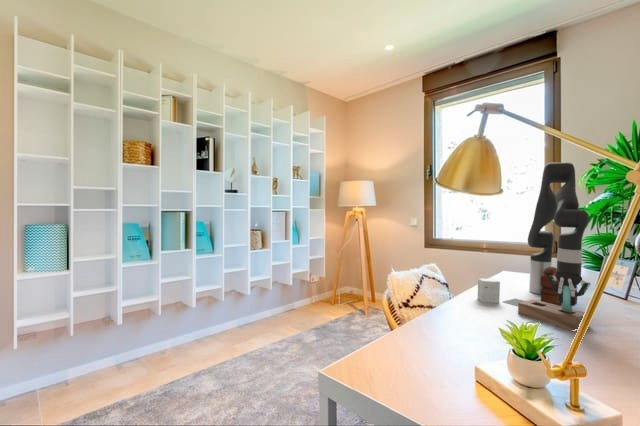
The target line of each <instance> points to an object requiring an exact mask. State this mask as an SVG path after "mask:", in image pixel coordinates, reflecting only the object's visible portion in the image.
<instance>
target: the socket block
mask: <svg viewBox="0 0 640 426" xmlns="http://www.w3.org/2000/svg"><path fill="white" fill-rule="evenodd" d="M523 301H524V302H520V303H518V307H517V315H521V316H525V317H527V318H529V319H530V318H531V319H534V320H537V321H540V322H544V323H547V324H549V325H550V324H551V325H553V326H554V327H556V328H560V329H563V330H567V329H568V330H567V331H570V330H575V329H578V327H579V324H580V322H581V320H582V318H583V315H584V313H585V311H581V310H578V309H574V308H572V312H565V311H562V305H560V306H558V305H554V304H550V303H546V302H543V301H541V300H539V299H534V298H533V299H529V300H523ZM575 332H578V331H577V330H576V331H575Z"/></svg>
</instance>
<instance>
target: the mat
mask: <svg viewBox="0 0 640 426" xmlns="http://www.w3.org/2000/svg"><path fill="white" fill-rule="evenodd" d="M524 301H525V300H523V299H519V298H512V299H506V300H503V301H502V303H504V304H507V305H509V306H510V305H511V306H514V307H517V308H518V303H520V302H524Z"/></svg>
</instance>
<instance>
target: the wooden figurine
mask: <svg viewBox="0 0 640 426" xmlns="http://www.w3.org/2000/svg"><path fill="white" fill-rule="evenodd" d="M543 273H544V274H542V276H541V283H540V284H541V286H542V289H541V294H540V301H543V302H546V303H550V304H554V305H558V306H561V305H562V303H560V301H559V300H558V295H559V294H558V292H556V291H554V290H553V289H552V286H551V284H550V282H549V279H548V276H554V275H555V274H556V273H557V267H554V266H551V267H547V268H545V270H544V271H543ZM556 282H557V285H558V287H559V283H560V282H559V281H558V280H557V278H556Z"/></svg>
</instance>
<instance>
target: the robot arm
mask: <svg viewBox="0 0 640 426" xmlns="http://www.w3.org/2000/svg"><path fill="white" fill-rule="evenodd" d="M542 171H543V172H542V178H541V183H540V184H541V186H540V189H539V190H540V191H539V195H538V199H537V202H536V206H535V211H534V216H533V221H532V225H531V226H530V230H529V232H528V235H527V244H528V245H529V247H531V248H534V249H535V248H537V249H542V250H541V251H540V252H539V251H538V252H536V253H532V254H530V261H529V262H530V263H529V290H528V292H530V293H534V294H538V295H541V289H542V286H541V284H540V283H541V276H542V274H544V273H543V271H544V270H545V268H547V267H552V257H553V246H554V233H553V232H552V231H549V230H542V229H543V228H544V227H546V226H547V225H548V224H550V223H551V222H553V220H554V222H553V223H554V224H555V226H558V227H560V228H574V230H573V231H572V232H571V231H570V232H566V233H561V234H559V236H558V246H557V247H558V248H557V249H558V250H557V254H556V255H557V256H556V268H557V273H556V274H555V275H554V276H548V279H549V282H550V284H551V286H552V289H553V290H554V291H556V292H558V294H559V295H558V300H559V301H560V303H561V304H562V301H563V285H564V286H569V288H570V291H571V303H570V305H571V306H572V307H574V306H577V304H578V297H582V296H585V295H584V294H586V292H587V290H588V289H589V287H590V286H591V282H589V281H586V280H584V279H583V277H582V267H583V266H582V263H583V262H582V261H583V260H582V259H583V255H582V253H583V252H582V245H583V244H582V242H583V236H584V233H585V230H586V228H587V226H588V224H589V221H590V216H589V213H588V212H587V211H586V210H585V209H579V207H580V203H579V201H578V196H577V193H576V185H577V184H576V169H575V166H574V164H573V163H571V162H547V163H546V164H545V165H544V168H543V170H542ZM551 183H552V184H553V183H554V184H555V183H556V184H557V183H558V184H561V183H562V184H563V185H561V187H560V188H559V189H558V190H557V192H556V193H554V192H553V190H552V187H551ZM556 278H557V280H558V281H559V282H560V283H559V287H558V285H557V282H556ZM579 284H580V286H581V288H580V289H579V290H578V285H579Z"/></svg>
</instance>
